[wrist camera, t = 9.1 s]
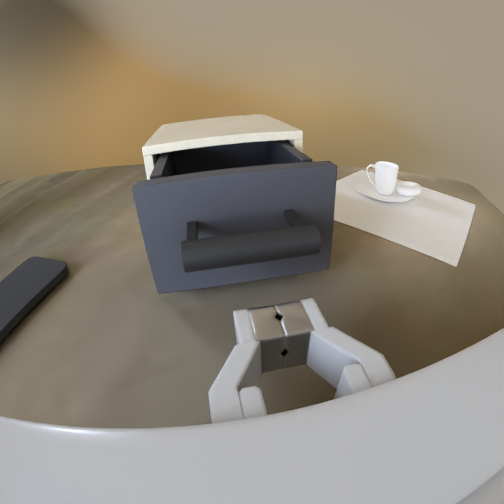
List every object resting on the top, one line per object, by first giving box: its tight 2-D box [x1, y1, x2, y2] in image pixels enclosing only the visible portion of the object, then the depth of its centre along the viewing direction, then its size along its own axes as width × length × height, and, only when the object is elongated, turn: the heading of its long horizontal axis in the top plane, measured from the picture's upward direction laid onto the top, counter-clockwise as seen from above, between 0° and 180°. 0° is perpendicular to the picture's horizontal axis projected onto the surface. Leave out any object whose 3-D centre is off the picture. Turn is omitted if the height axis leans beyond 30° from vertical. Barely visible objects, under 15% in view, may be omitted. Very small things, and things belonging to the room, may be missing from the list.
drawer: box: [132, 140, 337, 294], centre depth 23 cm, size 19×12×8 cm, turn 10°
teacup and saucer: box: [355, 161, 423, 203], centre depth 35 cm, size 9×8×4 cm
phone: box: [0, 257, 68, 342], centre depth 19 cm, size 7×1×15 cm
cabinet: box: [142, 114, 303, 180], centre depth 32 cm, size 16×14×10 cm
